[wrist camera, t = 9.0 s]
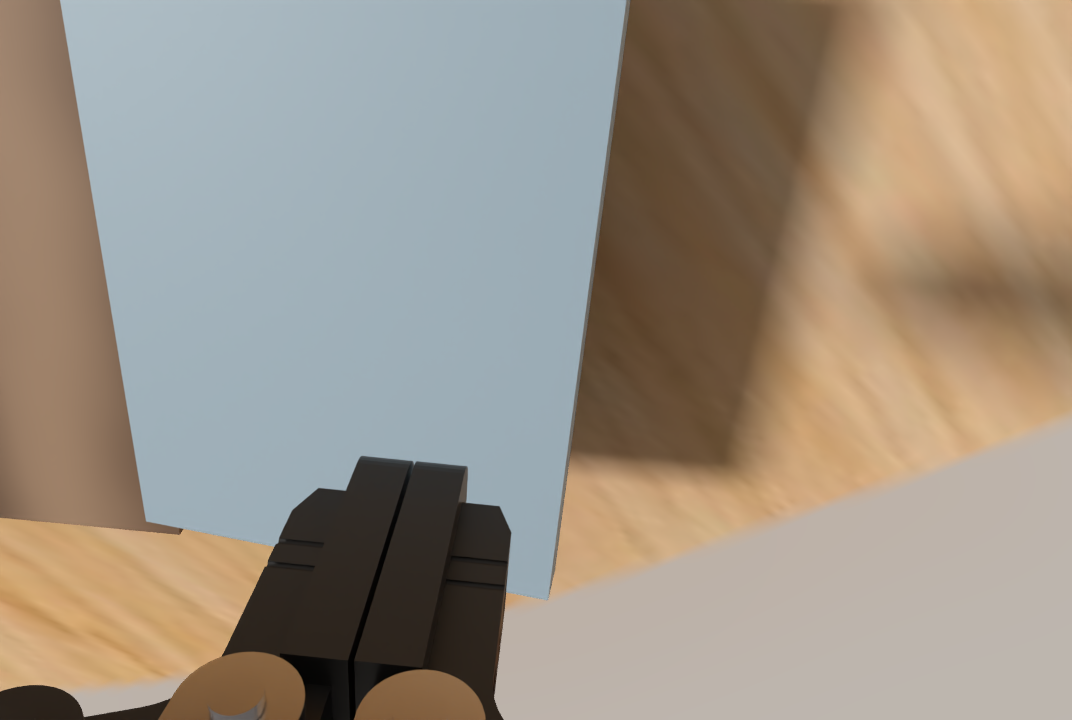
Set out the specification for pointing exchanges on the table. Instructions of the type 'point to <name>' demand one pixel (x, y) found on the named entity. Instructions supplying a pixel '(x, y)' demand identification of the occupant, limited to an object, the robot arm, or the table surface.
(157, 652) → the table surface
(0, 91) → the brown wooden l-shaped piece
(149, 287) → the light blue flat panel
